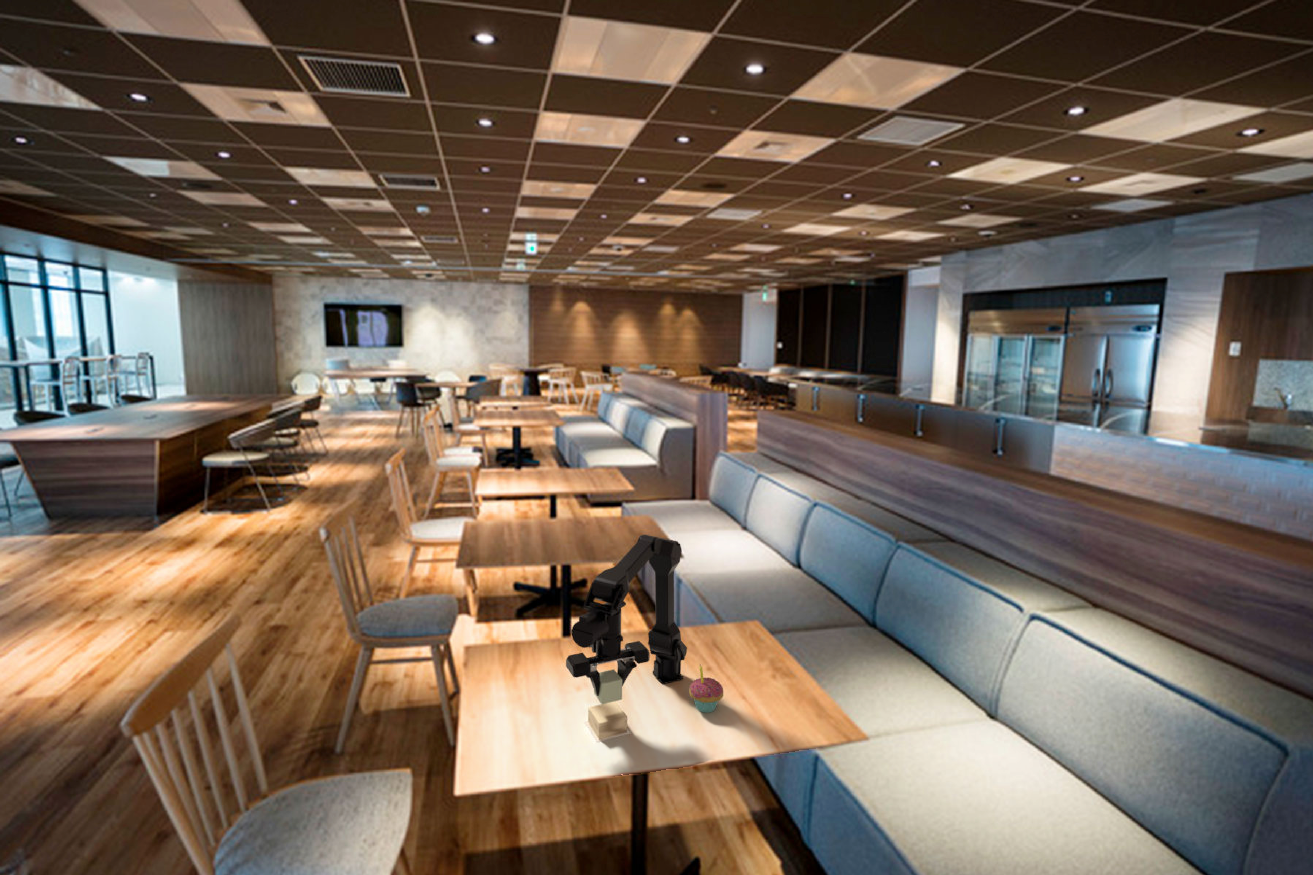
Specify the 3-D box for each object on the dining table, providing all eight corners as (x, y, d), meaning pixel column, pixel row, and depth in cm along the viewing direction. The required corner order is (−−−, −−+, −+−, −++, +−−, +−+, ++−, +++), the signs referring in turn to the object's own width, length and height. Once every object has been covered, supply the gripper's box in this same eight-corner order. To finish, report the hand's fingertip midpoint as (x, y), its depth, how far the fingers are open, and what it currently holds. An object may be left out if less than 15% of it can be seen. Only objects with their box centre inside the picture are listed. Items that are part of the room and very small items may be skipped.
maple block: (615, 716, 160) (615, 700, 160) (627, 731, 154) (627, 716, 153) (588, 722, 157) (588, 707, 157) (598, 739, 151) (598, 723, 150)
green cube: (613, 688, 158) (614, 669, 157) (622, 699, 153) (622, 679, 152) (594, 693, 156) (594, 673, 155) (601, 704, 151) (601, 684, 150)
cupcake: (699, 720, 160) (701, 674, 158) (682, 702, 168) (683, 658, 166) (729, 711, 164) (731, 666, 162) (711, 694, 172) (712, 651, 170)
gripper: (631, 609, 163) (630, 668, 165) (558, 622, 155) (558, 684, 157) (651, 627, 153) (649, 690, 156) (574, 643, 145) (574, 708, 147)
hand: (607, 692), depth 154 cm, fingers closed on green cube, 5 cm apart
